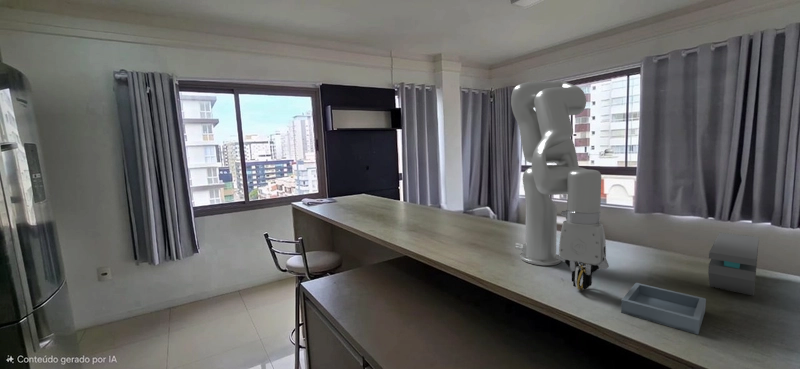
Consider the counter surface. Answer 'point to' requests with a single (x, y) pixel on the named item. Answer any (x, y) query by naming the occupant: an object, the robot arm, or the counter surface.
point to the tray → (665, 307)
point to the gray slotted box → (734, 263)
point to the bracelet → (577, 279)
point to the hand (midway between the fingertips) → (581, 285)
